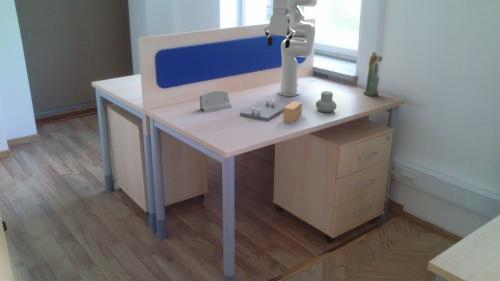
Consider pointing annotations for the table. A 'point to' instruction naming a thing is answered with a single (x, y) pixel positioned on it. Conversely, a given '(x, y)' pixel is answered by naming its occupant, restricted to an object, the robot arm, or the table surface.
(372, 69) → the statue
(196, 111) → the table surface
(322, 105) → the grey green vase
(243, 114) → the base plate
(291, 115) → the block
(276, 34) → the robot arm
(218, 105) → the hinge
